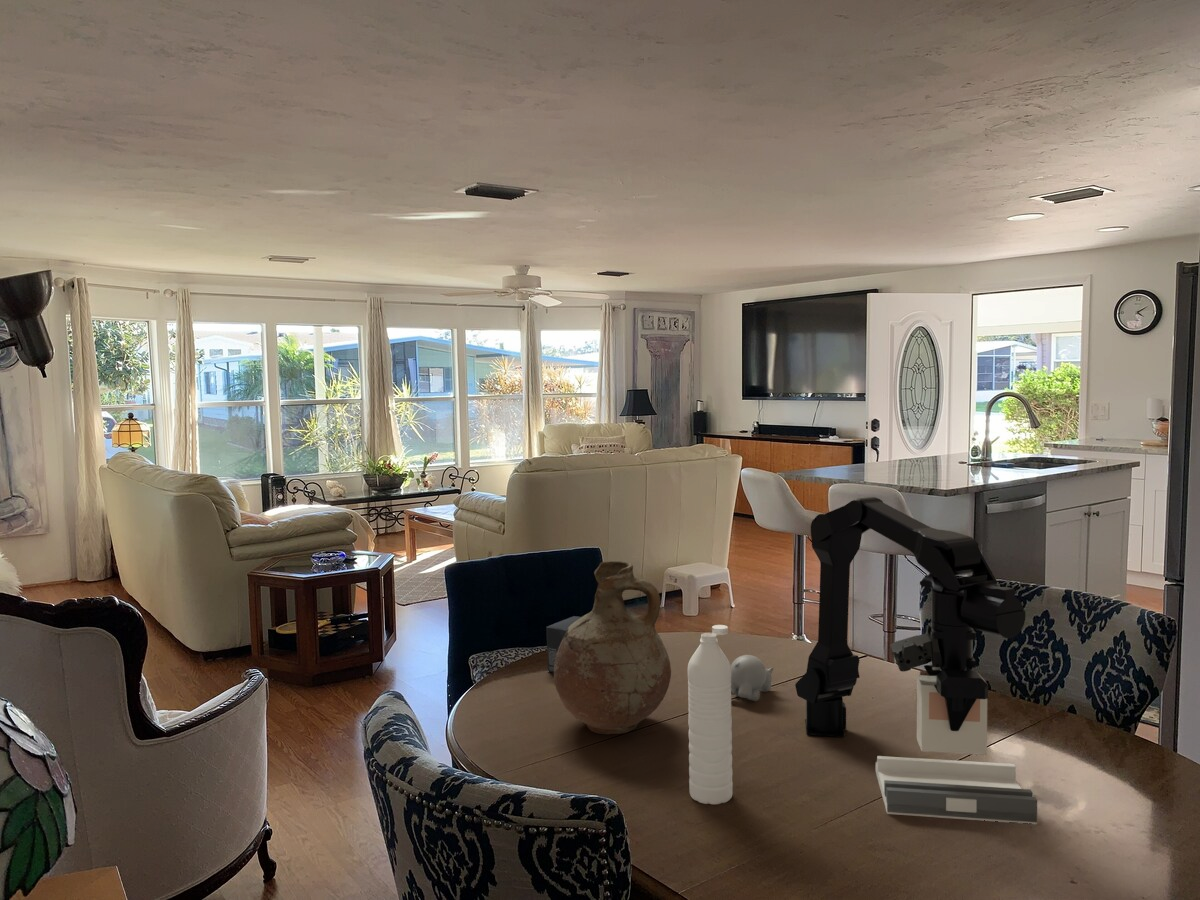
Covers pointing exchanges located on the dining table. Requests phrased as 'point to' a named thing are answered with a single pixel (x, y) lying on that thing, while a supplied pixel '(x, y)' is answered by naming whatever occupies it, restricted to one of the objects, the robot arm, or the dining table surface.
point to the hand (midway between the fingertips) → (950, 724)
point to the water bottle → (710, 721)
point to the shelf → (954, 790)
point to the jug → (613, 657)
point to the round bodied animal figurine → (749, 677)
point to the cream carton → (936, 724)
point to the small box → (556, 639)
